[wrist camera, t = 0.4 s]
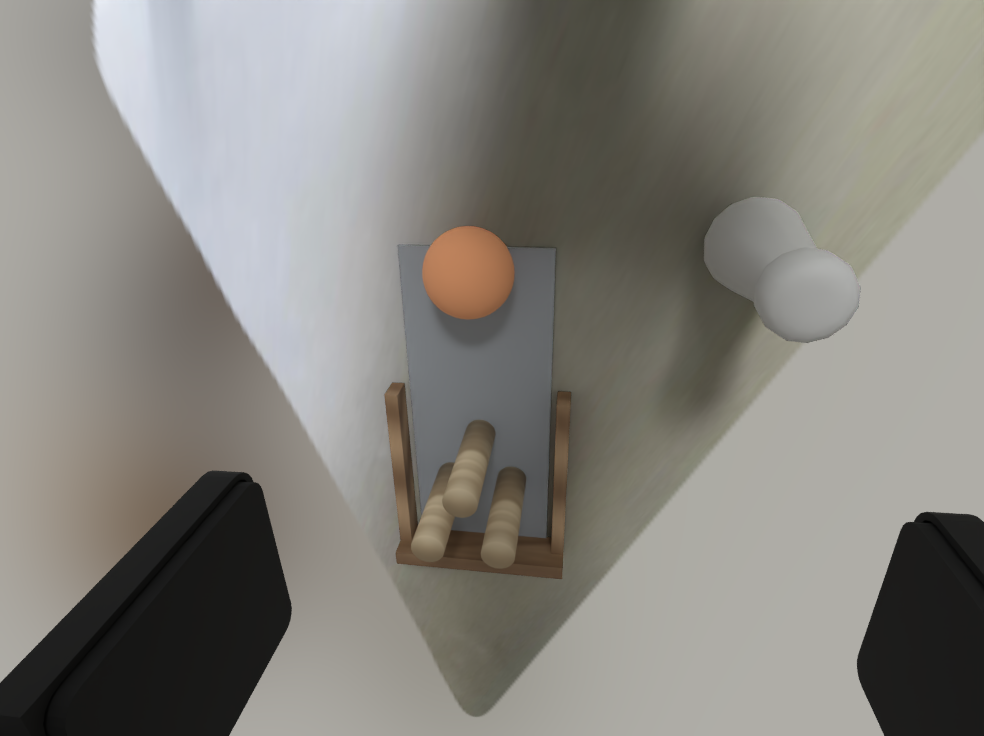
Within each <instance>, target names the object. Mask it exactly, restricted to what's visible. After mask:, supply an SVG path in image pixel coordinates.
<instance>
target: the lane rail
mask: <svg viewBox="0 0 984 736" xmlns="http://www.w3.org/2000/svg"><path fill="white" fill-rule="evenodd" d="M385 404H386V413H387V422H388V431H389V440H390V449H391V458H392V467H393V476H394V485H395V494H396V503H397V512H398V521H399V530H400V539H401V541H400V543H399V546H398V548H397V551H396V559H397V563H398V564H408V565H419V566H429V567H440V568H450V569H461V570H471V571H482V572H492V573H503V574H513V575H524V576H534V577H545V578H555V579H562V568H563V547H564V527H565V506H566V486H567V466H568V446H569V426H570V406H571V392H561V391H558V395H557V410H556V436H555V463H554V489H553V516H552V537H546V538H537V537H526V536H518V541H517V548H516V555H515V560H514V562H513V564H512V565H511V566H509V567H507V568H502V569H498V568H493V567H491V566H489V565H487V564H486V563H485V562H484V561H483V560H482V558H481V549H482V545H483V540H484V535H485V533H479V532H468V531H456V530H451V531H450V535H449V538H448V542H447V545H446V548H445V552H444V555H443V557H442V558H441V559H440V560H438V561H435V562H426V561H422V560H420V559H418V558H417V557H416V556H415V555H414V554H413V552H412V550H411V543H412V541H413V538H414V535H415V533H416V530H417V527H418V523H417V512H416V502H415V491H414V480H413V470H412V459H411V448H410V437H409V427H408V416H407V405H406V395H405V384H404V383H392V384H391V385H390V387H389V388H388V390H387V392H386V393H385Z"/></svg>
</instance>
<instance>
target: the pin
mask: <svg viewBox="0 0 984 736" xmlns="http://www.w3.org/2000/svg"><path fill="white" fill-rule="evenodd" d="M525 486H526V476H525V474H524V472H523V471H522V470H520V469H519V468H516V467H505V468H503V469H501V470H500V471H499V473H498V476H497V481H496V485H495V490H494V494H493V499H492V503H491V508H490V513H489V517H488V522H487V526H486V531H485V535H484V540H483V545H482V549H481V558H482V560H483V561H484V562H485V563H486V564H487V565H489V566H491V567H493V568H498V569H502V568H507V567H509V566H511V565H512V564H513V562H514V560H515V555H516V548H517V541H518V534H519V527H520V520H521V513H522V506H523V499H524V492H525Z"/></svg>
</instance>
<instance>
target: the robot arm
mask: <svg viewBox="0 0 984 736" xmlns="http://www.w3.org/2000/svg"><path fill="white" fill-rule="evenodd" d="M291 609H292V607H291V601H290V598H289V594H288V590H287V586H286V582H285V578H284V574H283V570H282V566H281V562H280V558H279V554H278V550H277V546H276V542H275V538H274V534H273V530H272V526H271V523H270V519H269V514H268V510H267V507H266V503H265V499H264V495H263V491H262V488H261V486H260V485H259V484H258V483H254V482H253V480H252V478H251V477H250V475H249V474H247V473H244V472H227V471H210V472H207V473H206V474H204V475H203V476H202V477H201V478H200V479H199V480H198V481H197V482H196V483H195V484H194V485H193V486H192V487H191V488H190V489H189V490H188V491H187V492H186V493H185V494H184V495H183V496H182V497H181V499H179V500H178V501H177V503H176V504H175V505H173V507H172V508H171V509H170V510H169V511H168V512H167V513H166V514H165V515H164V516H163V517H162V518H161V519H160V520H159V521H158V522H157V523H156V524H155V525H154V526H153V527H152V528H151V529H150V530H149V531H148V532H147V533H146V534H145V535H144V536H143V537H142V538H141V539H140V541H138V542H137V543H136V544H135V545H134V547H132V549H131V550H130V551H129V552H128V553H127V554H126V555H125V556H124V557H123V558H122V559H121V560H120V561H119V562H118V563H117V564H116V565H115V566H114V567H113V568H112V569H111V570H110V571H109V572H108V573H107V574H106V575H105V576H104V577H103V578H102V579H101V580H100V581H99V582H98V583H97V584H96V585H95V586H94V587H93V589H91V591H89V593H88V594H87V595H86V596H85V597H84V598H83V599H82V600H81V601H80V602H79V603H78V604H77V605H76V606H75V607H74V608H73V609H72V610H71V611H70V612H69V613H68V614H67V615H66V616H65V617H64V618H63V619H62V620H61V621H60V622H59V623H58V624H57V625H56V626H55V627H54V628H53V629H52V631H50V632H49V633H48V635H47V636H46V637H45V638H44V639H43V640H42V641H41V642H40V643H39V644H38V645H37V646H36V647H35V648H34V649H33V650H32V651H31V652H30V653H29V654H28V655H27V656H26V657H25V658H24V659H23V660H22V661H21V662H20V663H19V664H18V665H17V666H16V667H15V668H14V669H13V670H12V672H10V674H8V676H7V677H6V678H5V679H4V680H3V681H2V682H1V683H0V736H229V735H230V733H231V731H232V729H233V727H234V726H235V724H236V722H237V720H238V718H239V716H240V715H241V713H242V711H243V709H244V707H245V705H246V704H247V702H248V700H249V698H250V696H251V694H252V692H253V691H254V689H255V687H256V685H257V683H258V682H259V680H260V678H261V676H262V674H263V672H264V670H265V669H266V667H267V665H268V663H269V661H270V660H271V658H272V656H273V654H274V652H275V650H276V649H277V646H278V645H279V643H280V641H281V639H282V638H283V636H284V634H285V632H286V630H287V628H288V625H289V622H290V619H291V611H292V610H291ZM857 669H858V676H859V680H860V683H861V685H862V688H863V690H864V692H865V695H866V697H867V699H868V701H869V703H870V705H871V707H872V709H873V712H874V714H875V716H876V718H877V720H878V723H879V725H880V727H881V729H882V731H883V733H884V736H984V522H983V521H982V520H981V519H979V518H978V517H976V516H973V515H969V514H953V513H936V512H924V513H921V514H919V515H918V516H917V517H916V519H915V521H914V522H908V523H905V524H904V525H903V527H902V529H901V531H900V534H899V537H898V540H897V543H896V545H895V548H894V551H893V554H892V557H891V560H890V563H889V566H888V569H887V572H886V575H885V578H884V581H883V584H882V587H881V590H880V592H879V595H878V599H877V601H876V604H875V607H874V610H873V613H872V616H871V619H870V622H869V625H868V628H867V631H866V634H865V637H864V640H863V642H862V645H861V648H860V651H859V654H858V659H857Z"/></svg>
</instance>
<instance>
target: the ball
mask: <svg viewBox="0 0 984 736" xmlns="http://www.w3.org/2000/svg"><path fill="white" fill-rule="evenodd" d="M514 274H515V271H514V263H513V260H512V257H511V254H510V252H509V250H508V248H507V247H506V245H505V244H504V243H503V242H502V240H501V239H500V238H498V237H497V236H496V235H495V234H493V233H492V232H490V231H488V230H486V229H483V228H480V227H475V226H462V227H456V228H453V229H450V230H448V231H446V232H445V233H443V234H442V235H440V236H439V237H438V238H437V239H436V240H435V241H434V242H433V243H432V244H431V246H430V247H429V249H428V251H427V253H426V255H425V258H424V262H423V268H422V278H423V283H424V287H425V290H426V292H427V294H428V296H429V298H430V299H431V301H432V302H433V303H434V304H435V305H436V306H437V307H438V308H439V309H440V310H441V311H443V312H444V313H446V314H448V315H450V316H452V317H455V318H459V319H478V318H482V317H485V316H487V315H490V314H491V313H493V312H494V311H496V310H497V309H498V308H499V307H501V305H502V304H503V303H504V302H505V301H506V299H507V298H508V296H509V294H510V292H511V290H512V287H513V283H514Z"/></svg>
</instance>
